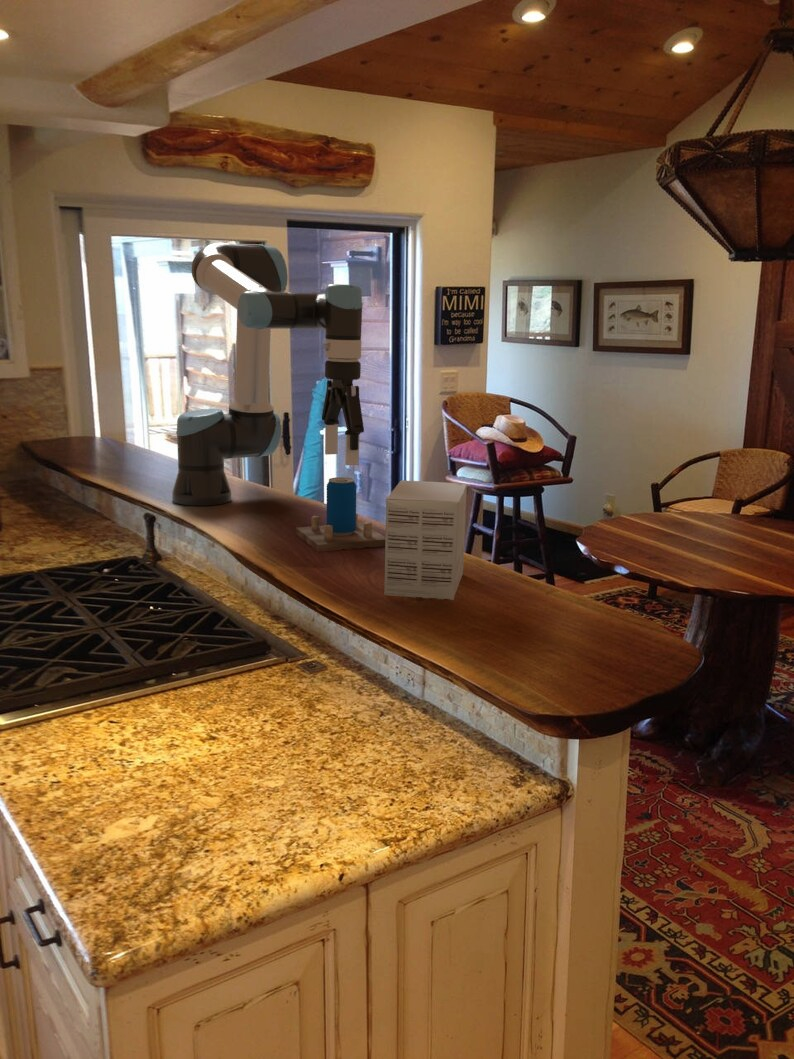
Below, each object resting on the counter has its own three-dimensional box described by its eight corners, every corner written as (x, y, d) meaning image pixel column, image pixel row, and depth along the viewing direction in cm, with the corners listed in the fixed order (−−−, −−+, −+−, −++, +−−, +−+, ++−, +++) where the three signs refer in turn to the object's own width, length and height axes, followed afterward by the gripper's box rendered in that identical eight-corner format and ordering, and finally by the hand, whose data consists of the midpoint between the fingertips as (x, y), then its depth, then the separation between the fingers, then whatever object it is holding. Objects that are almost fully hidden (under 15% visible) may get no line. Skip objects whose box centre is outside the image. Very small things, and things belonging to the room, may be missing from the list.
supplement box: (397, 569, 180) (399, 479, 175) (464, 574, 178) (468, 483, 173) (381, 595, 163) (383, 497, 159) (455, 601, 161) (459, 501, 157)
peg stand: (296, 534, 205) (295, 514, 204) (362, 529, 211) (362, 510, 210) (317, 551, 191) (317, 530, 190) (388, 545, 197) (388, 525, 196)
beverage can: (357, 530, 204) (358, 477, 201) (353, 537, 197) (354, 482, 194) (329, 529, 204) (329, 476, 201) (324, 536, 198) (324, 481, 195)
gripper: (308, 355, 201) (307, 450, 207) (345, 364, 179) (344, 470, 184) (340, 355, 204) (338, 449, 210) (381, 364, 182) (378, 469, 187)
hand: (341, 459), depth 197 cm, fingers open, 13 cm apart
